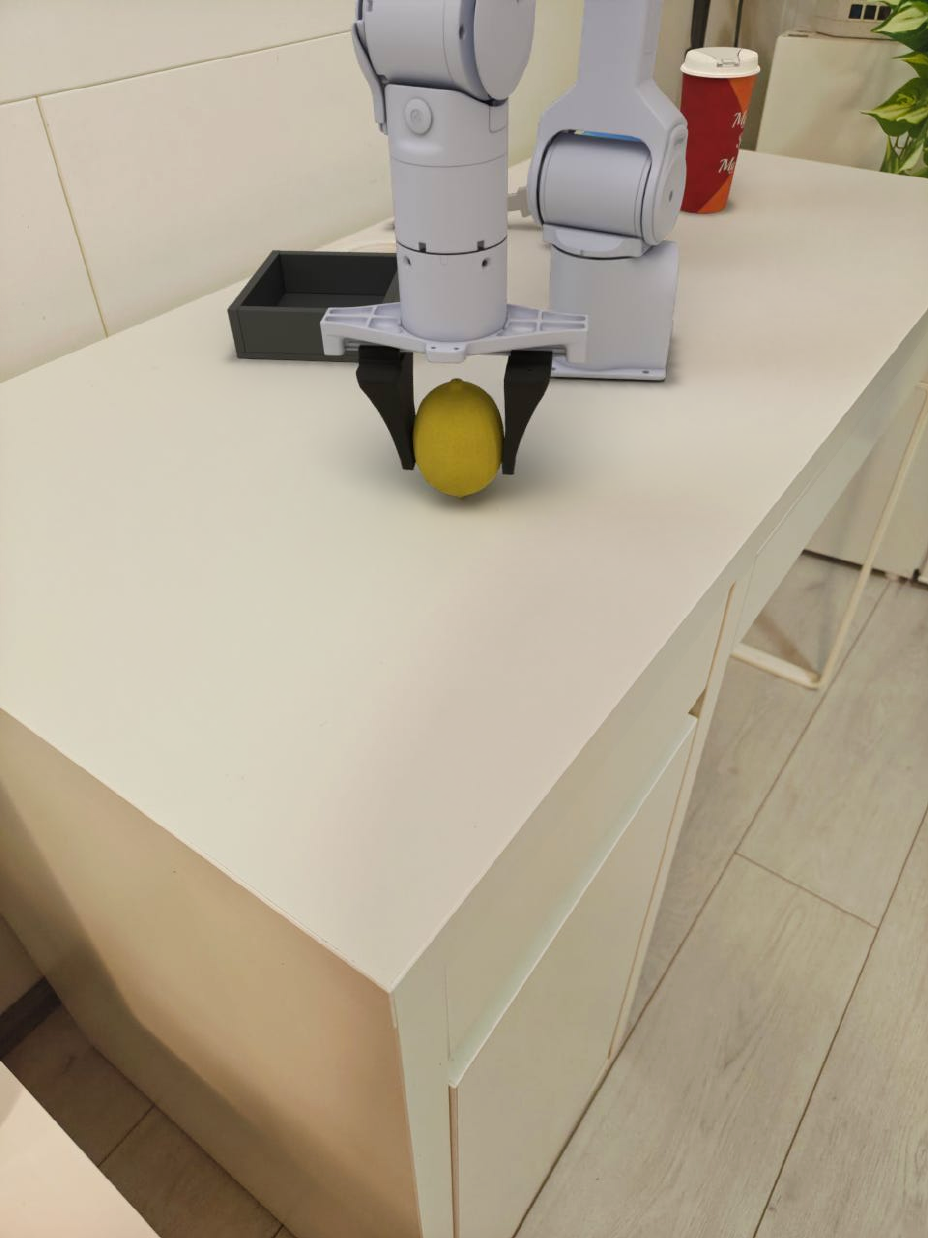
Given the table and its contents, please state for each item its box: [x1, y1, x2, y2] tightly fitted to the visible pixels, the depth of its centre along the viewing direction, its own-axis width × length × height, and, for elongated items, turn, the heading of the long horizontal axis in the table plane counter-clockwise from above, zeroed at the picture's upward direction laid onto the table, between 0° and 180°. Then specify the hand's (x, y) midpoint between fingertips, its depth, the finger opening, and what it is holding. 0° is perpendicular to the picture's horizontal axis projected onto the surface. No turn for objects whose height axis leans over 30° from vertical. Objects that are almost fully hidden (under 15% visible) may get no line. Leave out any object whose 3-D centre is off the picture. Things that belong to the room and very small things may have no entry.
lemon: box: [413, 377, 505, 499], centre depth 53 cm, size 6×6×8 cm
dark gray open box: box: [226, 249, 400, 363], centre depth 73 cm, size 13×13×4 cm
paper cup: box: [679, 46, 761, 214], centre depth 90 cm, size 8×8×14 cm
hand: (458, 463), depth 54 cm, fingers closed on lemon, 5 cm apart
